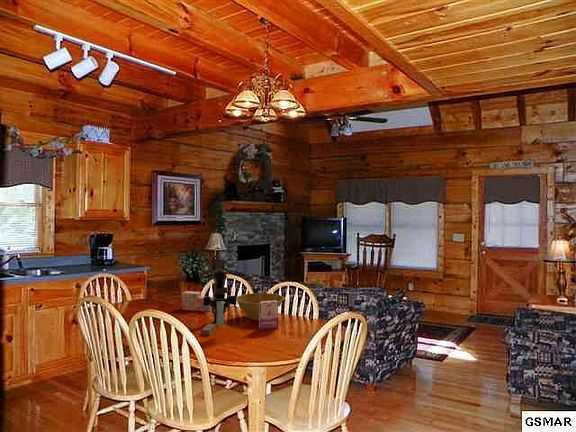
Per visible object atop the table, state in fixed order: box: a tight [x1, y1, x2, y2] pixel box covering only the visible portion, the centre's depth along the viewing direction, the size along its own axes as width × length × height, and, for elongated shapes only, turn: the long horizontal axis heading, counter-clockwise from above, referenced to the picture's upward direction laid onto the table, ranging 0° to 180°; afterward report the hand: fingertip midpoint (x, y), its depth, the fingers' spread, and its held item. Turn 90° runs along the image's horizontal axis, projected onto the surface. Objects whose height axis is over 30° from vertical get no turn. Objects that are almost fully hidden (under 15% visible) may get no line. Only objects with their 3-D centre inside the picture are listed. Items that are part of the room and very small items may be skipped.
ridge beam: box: [200, 323, 218, 337], centre depth 268 cm, size 14×5×3 cm, turn 172°
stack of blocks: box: [181, 290, 214, 313], centre depth 324 cm, size 21×6×12 cm, turn 74°
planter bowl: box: [236, 292, 285, 321], centre depth 301 cm, size 32×32×13 cm
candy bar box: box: [258, 300, 279, 331], centre depth 276 cm, size 11×5×16 cm, turn 105°
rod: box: [216, 301, 225, 326], centre depth 260 cm, size 4×4×13 cm
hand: (220, 313), depth 258 cm, fingers closed on rod, 4 cm apart
